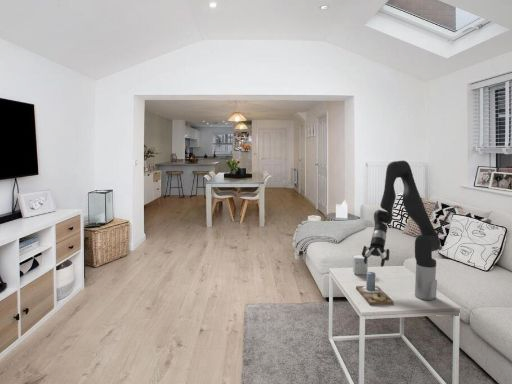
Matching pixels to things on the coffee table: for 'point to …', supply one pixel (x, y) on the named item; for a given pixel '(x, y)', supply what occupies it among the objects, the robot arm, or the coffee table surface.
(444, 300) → the coffee table surface
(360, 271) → the small box
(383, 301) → the gear board
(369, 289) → the blue-grey cylinder
